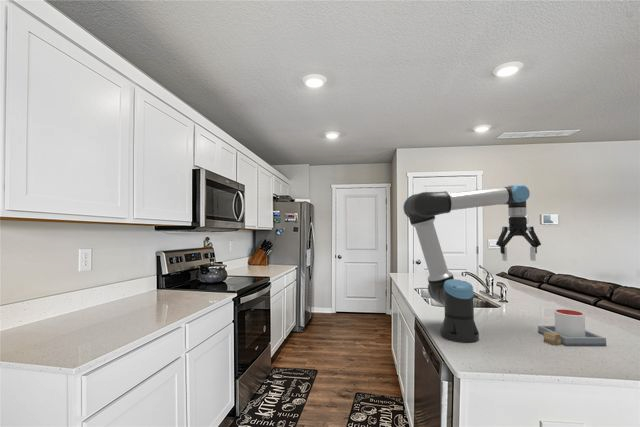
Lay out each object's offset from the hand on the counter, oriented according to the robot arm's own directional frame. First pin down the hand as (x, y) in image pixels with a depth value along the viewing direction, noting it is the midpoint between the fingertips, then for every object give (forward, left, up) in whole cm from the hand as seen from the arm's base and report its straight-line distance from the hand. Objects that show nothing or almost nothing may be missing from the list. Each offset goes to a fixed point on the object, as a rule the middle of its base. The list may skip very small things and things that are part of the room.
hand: (518, 260), depth 154 cm
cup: (+9, -19, -30) cm, 37 cm away
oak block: (-2, -24, -31) cm, 39 cm away
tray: (+9, -19, -31) cm, 37 cm away
